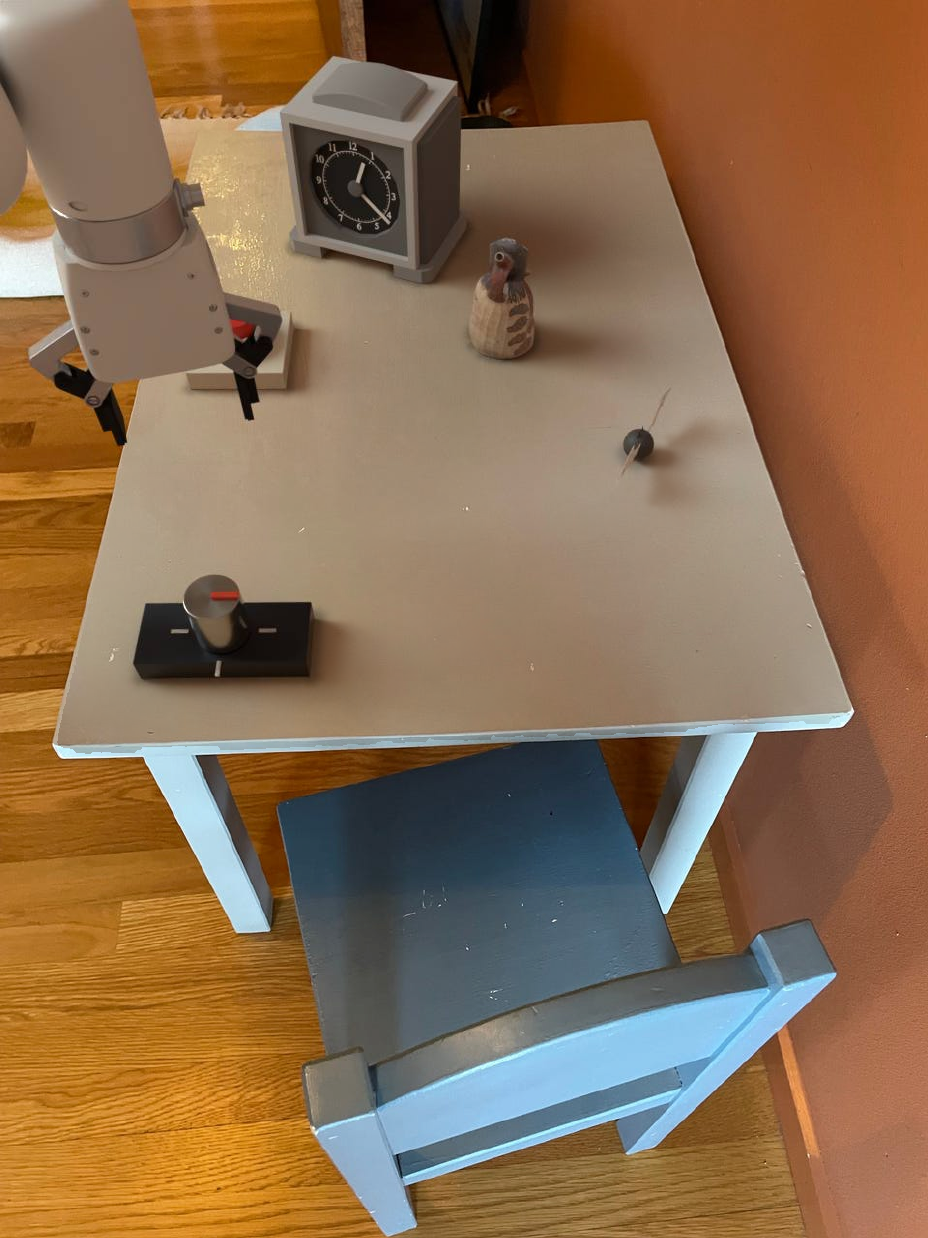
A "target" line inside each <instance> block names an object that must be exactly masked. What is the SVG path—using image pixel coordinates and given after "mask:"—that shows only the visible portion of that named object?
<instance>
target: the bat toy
mask: <svg viewBox="0 0 928 1238" xmlns="http://www.w3.org/2000/svg"><path fill="white" fill-rule="evenodd" d="M671 390H672V388H671V387H670V388H668V389H667V390H666V391H665V392H664V394H663V395H662V396H661V398H660V401H659V404H658V407H657V409H656V412H655V414H654V416H653V418H652V421H651V423H650V425H649V427H648V429H647V430H646V429H644V426H643V425H641V426H642V427H641V428H636V429H632V430H630V431H629V432H628V433H627V434H626V435H625V436H624V439H623V441H622V447H623V451H624V454H625V455H626V456H627V458H626V460H625V463H624V465H623V468H622V469H621V472H620V473H619V476H618V478H617V480H616V484H615V486H617V485H618V482H619V480H620V478H621V479H623V477H624V475H625V473H626V471H627V469H628V467H632V464H633V461H634V460H636V461H641V460H644V459H646V458H648V457H649V456H650V455H651V454H652V453H653V450H654V448H655V441H654V437H653V435H652V434H651V433H650V431H651V429H652V427H654V426H655V423H656V420H657V417H658V414H659V413H660V411H661V408H662V407H664V404H665V401H666V398H667V396H668V394H669V392H670V391H671Z"/></svg>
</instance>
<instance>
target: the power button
mask: <svg viewBox="0 0 928 1238" xmlns="http://www.w3.org/2000/svg"><path fill="white" fill-rule="evenodd" d="M230 321H231V326H232V331H233V334H235V335H236V336H238V337H239V338H241V339H244V338H247V337H248V336H249V335H250V334H251V333H252V332H253V330H254V329H255V327H254V324H250V323H246V322H241V321H237V320H233V319H230Z"/></svg>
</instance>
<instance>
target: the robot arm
mask: <svg viewBox="0 0 928 1238" xmlns="http://www.w3.org/2000/svg"><path fill="white" fill-rule="evenodd" d="M132 12H133V11H132V10H131V7H130V5H129V2H128V1H127V0H0V217H2V216H3V215H5V214H6V213H8V212H9V211H10V209H12V207H13V206H14V205H15V204H16V203H17V202H18V200H19V198H20V196H21V194H22V192H23V191H24V188H25V185H26V180H27V175H28V169H29V168H28V163H29V162H28V161H29V160H28V158H29V157H30V160H31V163H32V165H33V168H34V171H35V174H36V175H37V178H38V181H39V183H40V186H41V189H42V192H43V194H44V197H45V200H46V202H47V205H48V208H49V210H50V213H51V215H52V218H53V221H54V223H55V225H56V229H55V230H54V232H53V234H52V236H51V242H52V251H53V256H54V261H55V266H56V270H57V275H58V279H59V282H60V286H61V291H62V294H63V298H64V301H65V304H66V305H65V306H66V308H67V310H68V314H69V319H68V320H66V321H65V322H64V323H62V324H61V325H59V326H58V327H56V328H55V329H54V330H52V331H50V333H48V334H47V335H45V336H43V337H42V338H41V339H40V340H38V341H37V342H35V343H34V344H33V345H31V346H29V348H28V350H27V352H28V353H27V355H28V363H29V366H30V367H31V368H32V369H34V370H35V371H37V373H39V374H40V375H42V376H43V377H44V378H46V379H47V380H50V381H51V382H53V384H54V386H55V387H56V389H58V390H60V391H63V392H65V393H67V394H70V395H72V396H75V397H77V398H79V399H81V400H83V401H84V403H85V405H86V406H87V407H89V408H93V410H94V413H95V415H96V419H97V420H98V422H99V425H100V427H101V430H102V432H103V433H107V432H111V433H112V434H111V435H112V436H113V438H114V440H115V443H116V445H117V447H123V446H125V445H126V444H128V437H127V431H126V423H125V418H124V415H123V412H122V410H121V408H120V405H119V402H118V400H117V397H116V395H115V392H114V389H113V386H114V385H115V384H120V383H128V382H135V381H140V380H146V379H152V378H157V377H163V376H168V375H173V374H178V373H185V372H186V371H190V370H195V369H200V368H205V367H209V366H214V365H217V364H220V363H221V364H223V365H224V366H226V367H228V368H229V369H231V370H233V373H234V377H235V381H236V385H237V389H236V390H237V393H238V397H239V402H240V405H241V409H242V413H243V417H244V420H245V421H246V420H247V421H248V422H250V421H255V415H254V411H253V406H252V404H257V403H258V404H259V403H261V401H260V397H259V392H258V389H257V387H256V382H255V378H254V377H255V376H256V375H257V367H258V366H259V365H260V364H261V363H262V361H263V360H264V359H265V358H266V357H267V356H268V354H269V353H270V352H271V351H272V349H273V342H274V339H276V336H277V334H278V331H279V329H280V326H281V324H282V317H281V314H280V311H281V310H280V307H279V306H278V305H276V304H273V303H269V302H265V301H262V300H257V299H253V298H249V297H246V296H242V295H238V294H234V293H229V292H225V291H224V289H223V287H222V283H221V280H220V279H221V278H220V276H219V273H218V269H217V266H216V263H215V259H214V256H213V253H212V250H211V248H210V245H209V243H208V240H207V238H206V236H205V233H204V230H203V229H202V227H201V224H200V222H199V220H198V217H197V216H196V214H195V213H194V212H193V211H195V210H194V208H200V207H201V208H202V207H206V203H205V198H204V194H203V190H202V186H201V183H200V182H197V183H191V184H188V182H181V180H180V177H175V175H174V171H173V168H172V163H171V159H170V155H169V152H168V148H167V144H166V140H165V136H164V132H163V128H162V124H161V121H160V116H159V112H158V108H157V104H156V101H155V96H154V93H153V92H154V91H153V88H152V84H151V81H150V76H149V72H148V69H147V65H146V61H145V57H144V53H143V49H142V45H141V42H140V37H139V33H138V30H137V26H136V22H135V19H134V17H133V13H132ZM28 156H29V157H28ZM230 319H233V320H237V321H241V322H246V323H250V324H254V325H257V328H255V329H254V330H253V332H252V333H251V334H250V335H249V336H248V338H247V339H246V340H245V341H244V340H242V339H241V338H239V337H238V336H236V335H235V334H233V331H232V326H231V321H230ZM78 347H79V348H80V351H81V353H82V357H83V359H84V361H85V363H86V366H85V368H84V369H81V368H80V367H77V366H74V365H72V364H70V363H68V362H65V361H62V360H61V359H62V358H63V357H65V356H67V355H68V354H69V353H71V352H72V351H73V350H75V349H77V348H78Z"/></svg>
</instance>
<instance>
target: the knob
mask: <svg viewBox="0 0 928 1238" xmlns="http://www.w3.org/2000/svg"><path fill="white" fill-rule="evenodd" d="M243 602H244V600H243V598H242V594H241V590H240V588H239V586H238V584H237V583H236V582H235V580H233V579H232V578H230V577H228V576H226V575H223V574H207V575H204V576H201V577H199V578H197V579H195V580H194V581H192V582H191V583H190V584H189V585H188V586H187V588H186V589H185V590H184V593H183V597H182V603H183V606H184V608H185V611H186V613H187V616H188V618H189V620H190V623H191V625H192V627H193V630H194V632H195V635H196V637H197V639H198V642H199V643H200V645H201V646H202V647H203V648H204V649H206V650H207V651H210V652H212V653H218V654H222V653H229V652H232V651H234V650H236V649H238V648H239V647H241V646H242V645H243V644H244V643H245V642H246V641H247V639H248V637H249V635H250V631H251V626H250V622H249V619H248V616H247V612H246V609H245V606H244V603H243Z"/></svg>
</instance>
